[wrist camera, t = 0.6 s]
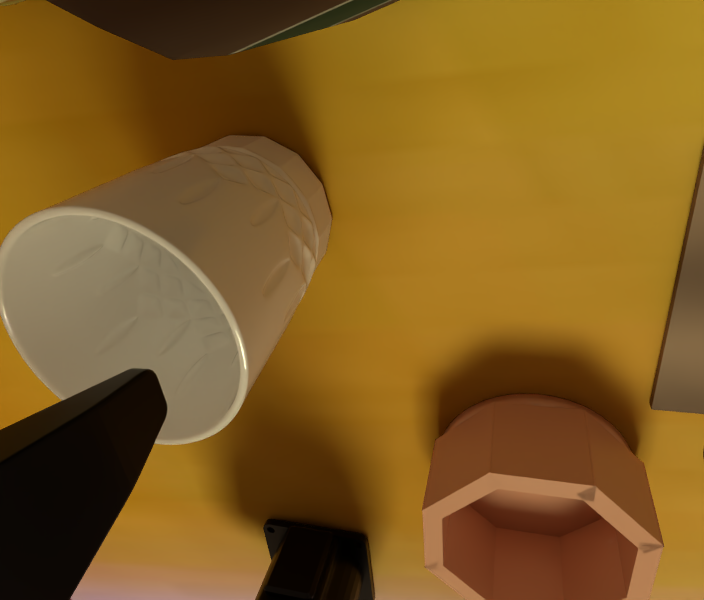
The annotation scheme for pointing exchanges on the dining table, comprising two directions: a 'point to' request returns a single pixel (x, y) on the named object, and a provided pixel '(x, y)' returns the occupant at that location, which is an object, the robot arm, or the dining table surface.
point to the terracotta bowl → (539, 505)
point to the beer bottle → (214, 21)
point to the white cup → (169, 277)
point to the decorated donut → (9, 2)
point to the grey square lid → (685, 322)
